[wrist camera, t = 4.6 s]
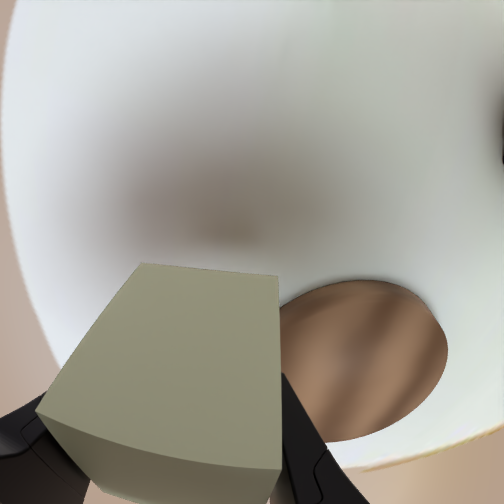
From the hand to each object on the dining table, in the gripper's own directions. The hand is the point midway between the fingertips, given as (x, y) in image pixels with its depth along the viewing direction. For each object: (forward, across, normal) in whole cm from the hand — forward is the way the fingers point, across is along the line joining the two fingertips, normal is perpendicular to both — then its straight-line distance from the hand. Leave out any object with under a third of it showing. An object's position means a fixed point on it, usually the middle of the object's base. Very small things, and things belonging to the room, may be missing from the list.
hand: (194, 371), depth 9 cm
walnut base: (+12, -10, +11) cm, 19 cm away
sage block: (+2, 0, 0) cm, 2 cm away
